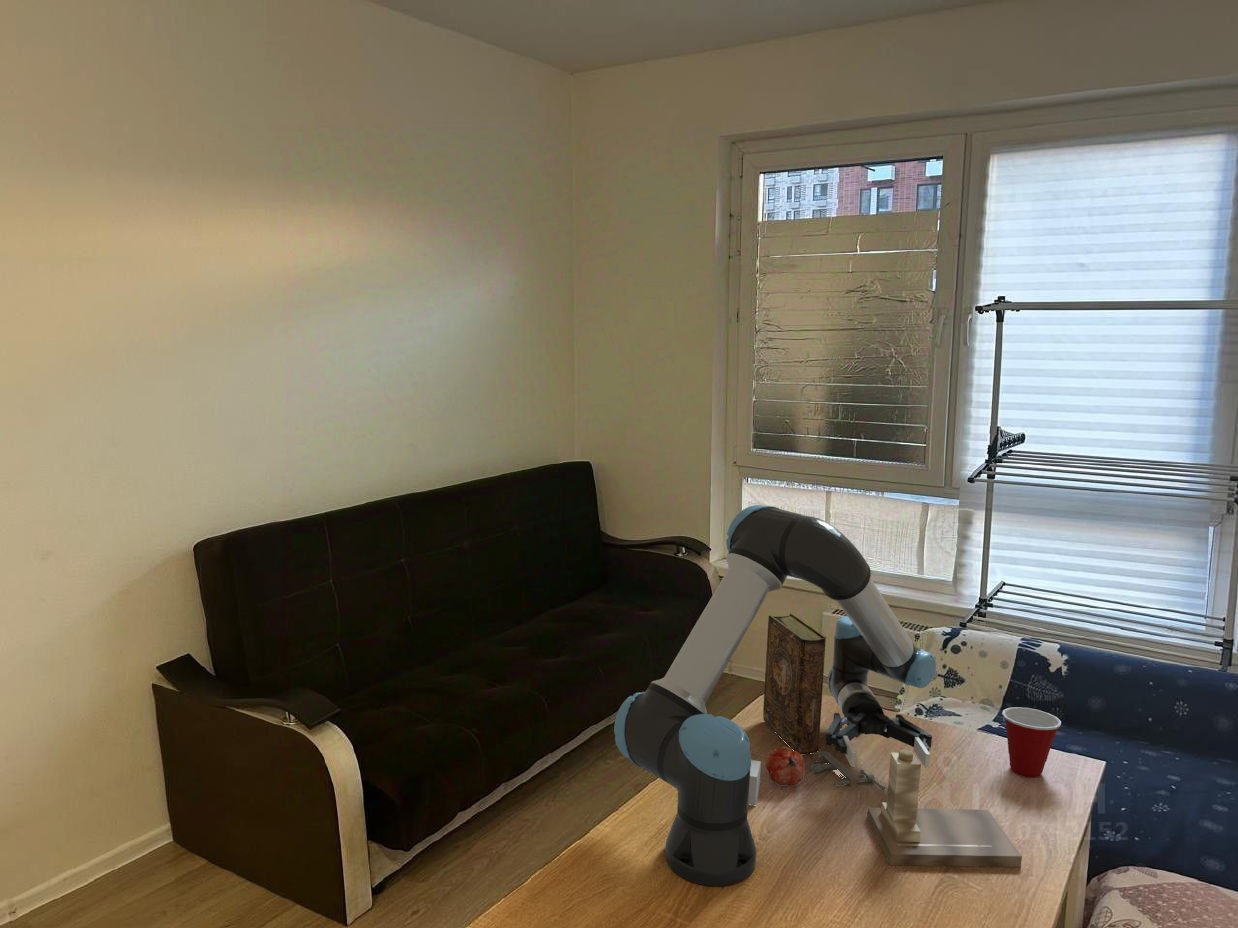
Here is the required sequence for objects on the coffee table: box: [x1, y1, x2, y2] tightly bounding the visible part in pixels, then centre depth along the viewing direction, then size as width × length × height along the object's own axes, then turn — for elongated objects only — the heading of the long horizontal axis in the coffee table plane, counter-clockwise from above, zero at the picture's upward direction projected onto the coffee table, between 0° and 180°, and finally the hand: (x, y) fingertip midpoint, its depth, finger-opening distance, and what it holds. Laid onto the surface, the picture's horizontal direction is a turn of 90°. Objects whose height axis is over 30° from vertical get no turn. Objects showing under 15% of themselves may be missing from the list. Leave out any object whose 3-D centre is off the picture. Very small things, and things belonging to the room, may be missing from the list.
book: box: [762, 613, 827, 755], centre depth 195 cm, size 16×6×25 cm, turn 17°
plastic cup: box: [1001, 706, 1062, 779], centre depth 183 cm, size 11×11×12 cm
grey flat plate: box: [866, 807, 1023, 868], centre depth 159 cm, size 22×14×2 cm, turn 90°
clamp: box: [809, 750, 886, 792], centre depth 181 cm, size 15×2×10 cm
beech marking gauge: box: [881, 749, 922, 842], centre depth 159 cm, size 4×9×14 cm, turn 0°
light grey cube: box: [748, 759, 762, 806], centre depth 173 cm, size 6×6×6 cm
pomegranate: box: [765, 746, 805, 787], centre depth 178 cm, size 7×7×10 cm
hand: (890, 760), depth 167 cm, fingers open, 13 cm apart
